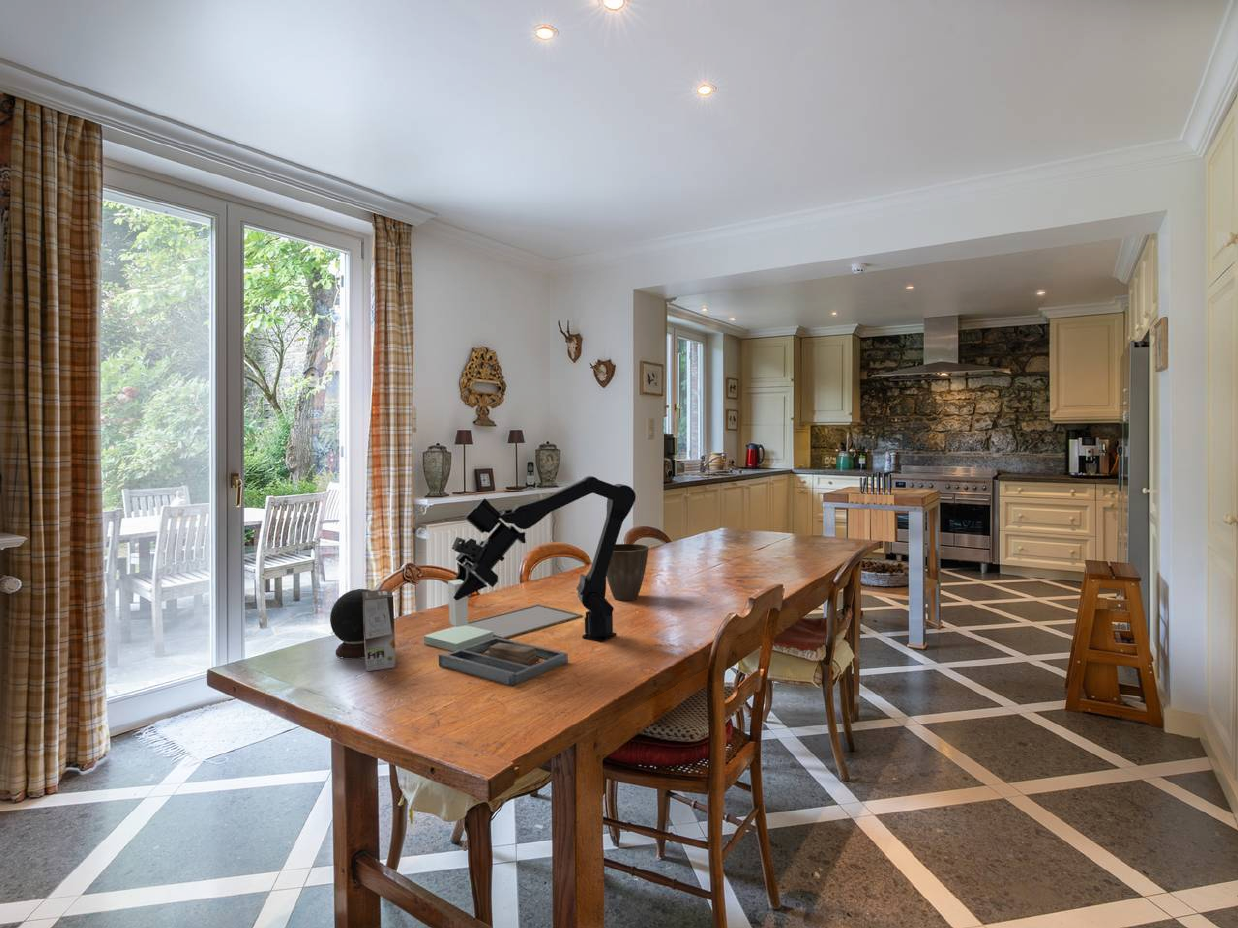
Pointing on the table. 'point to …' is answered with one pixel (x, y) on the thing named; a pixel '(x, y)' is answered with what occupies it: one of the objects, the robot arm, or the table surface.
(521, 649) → the offcut stack
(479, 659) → the offcut tray
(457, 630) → the green board
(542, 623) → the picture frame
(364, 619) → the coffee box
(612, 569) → the plant pot
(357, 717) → the table surface
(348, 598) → the black sphere with base
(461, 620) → the tall white cuboid
